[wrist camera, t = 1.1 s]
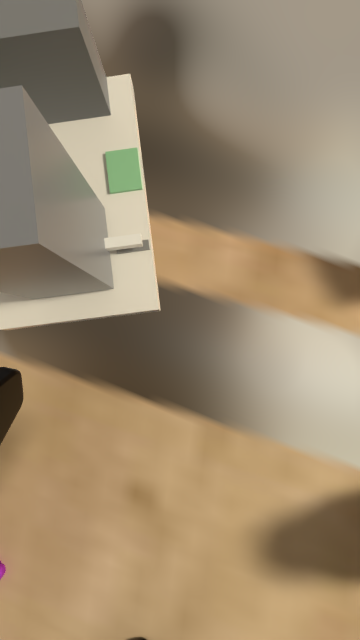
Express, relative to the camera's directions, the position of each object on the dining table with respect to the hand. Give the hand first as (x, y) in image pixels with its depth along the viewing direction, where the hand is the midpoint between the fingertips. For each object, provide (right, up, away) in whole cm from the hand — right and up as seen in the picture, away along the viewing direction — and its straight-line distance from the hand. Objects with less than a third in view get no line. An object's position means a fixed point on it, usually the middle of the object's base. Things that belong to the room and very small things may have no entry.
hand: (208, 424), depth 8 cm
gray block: (-7, +6, +13) cm, 16 cm away
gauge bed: (-8, +10, +14) cm, 19 cm away
